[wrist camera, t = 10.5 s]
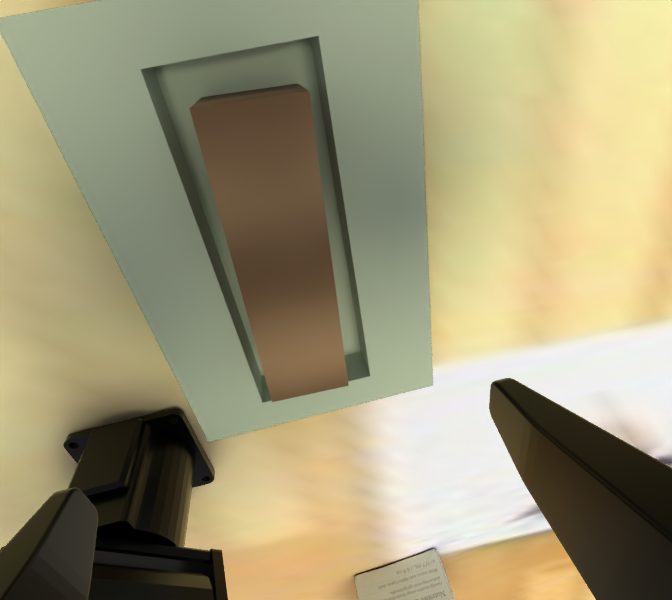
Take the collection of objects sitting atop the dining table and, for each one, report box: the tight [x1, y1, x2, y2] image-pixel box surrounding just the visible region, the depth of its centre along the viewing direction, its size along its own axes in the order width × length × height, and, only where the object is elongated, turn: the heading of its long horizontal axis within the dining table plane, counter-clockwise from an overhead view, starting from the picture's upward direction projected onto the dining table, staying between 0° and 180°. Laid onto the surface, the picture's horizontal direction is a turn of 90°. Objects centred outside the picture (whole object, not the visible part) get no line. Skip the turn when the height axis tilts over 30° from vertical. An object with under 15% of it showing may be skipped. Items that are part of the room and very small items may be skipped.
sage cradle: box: [0, 0, 433, 442], centre depth 18 cm, size 18×12×3 cm, turn 9°
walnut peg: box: [189, 83, 349, 402], centre depth 17 cm, size 12×4×4 cm, turn 6°
